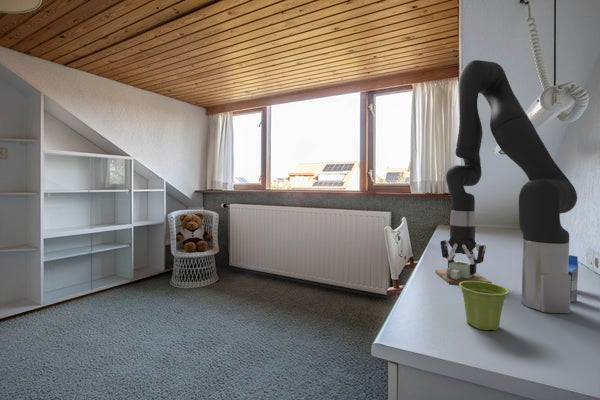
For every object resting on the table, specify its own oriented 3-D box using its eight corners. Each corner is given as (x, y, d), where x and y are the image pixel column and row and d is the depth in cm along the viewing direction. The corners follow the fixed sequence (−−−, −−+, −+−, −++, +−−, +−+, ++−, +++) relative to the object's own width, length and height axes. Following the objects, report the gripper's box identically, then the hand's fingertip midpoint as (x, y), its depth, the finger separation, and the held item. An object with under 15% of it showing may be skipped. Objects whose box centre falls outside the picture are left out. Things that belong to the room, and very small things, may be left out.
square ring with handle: (455, 271, 105) (456, 260, 105) (474, 275, 100) (474, 263, 100) (444, 276, 99) (444, 265, 99) (463, 280, 94) (463, 268, 94)
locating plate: (491, 285, 93) (492, 271, 93) (448, 283, 95) (449, 270, 95) (472, 273, 106) (473, 261, 106) (435, 272, 108) (435, 260, 108)
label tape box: (532, 293, 86) (533, 251, 86) (539, 290, 88) (540, 250, 88) (570, 303, 79) (572, 257, 78) (577, 300, 81) (579, 256, 80)
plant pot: (463, 312, 73) (463, 278, 73) (509, 323, 67) (510, 285, 67) (454, 326, 66) (455, 287, 65) (505, 339, 60) (506, 297, 59)
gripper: (436, 223, 103) (435, 270, 104) (482, 226, 92) (481, 279, 93) (445, 221, 108) (444, 266, 109) (490, 225, 97) (489, 275, 98)
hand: (461, 272), depth 101 cm, fingers closed on square ring with handle, 6 cm apart
